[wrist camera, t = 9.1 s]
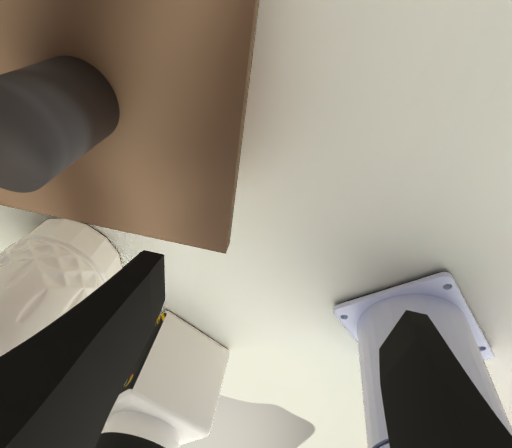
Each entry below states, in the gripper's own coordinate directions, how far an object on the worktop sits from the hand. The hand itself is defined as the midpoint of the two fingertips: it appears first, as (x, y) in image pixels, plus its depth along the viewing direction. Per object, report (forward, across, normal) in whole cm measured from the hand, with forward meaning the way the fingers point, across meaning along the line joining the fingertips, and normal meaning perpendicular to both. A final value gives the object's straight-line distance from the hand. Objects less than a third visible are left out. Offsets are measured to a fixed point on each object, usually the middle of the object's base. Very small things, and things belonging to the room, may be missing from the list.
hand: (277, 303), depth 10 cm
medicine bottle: (+10, +6, +20) cm, 24 cm away
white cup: (+10, +14, +11) cm, 21 cm away
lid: (+6, +8, -3) cm, 11 cm away
